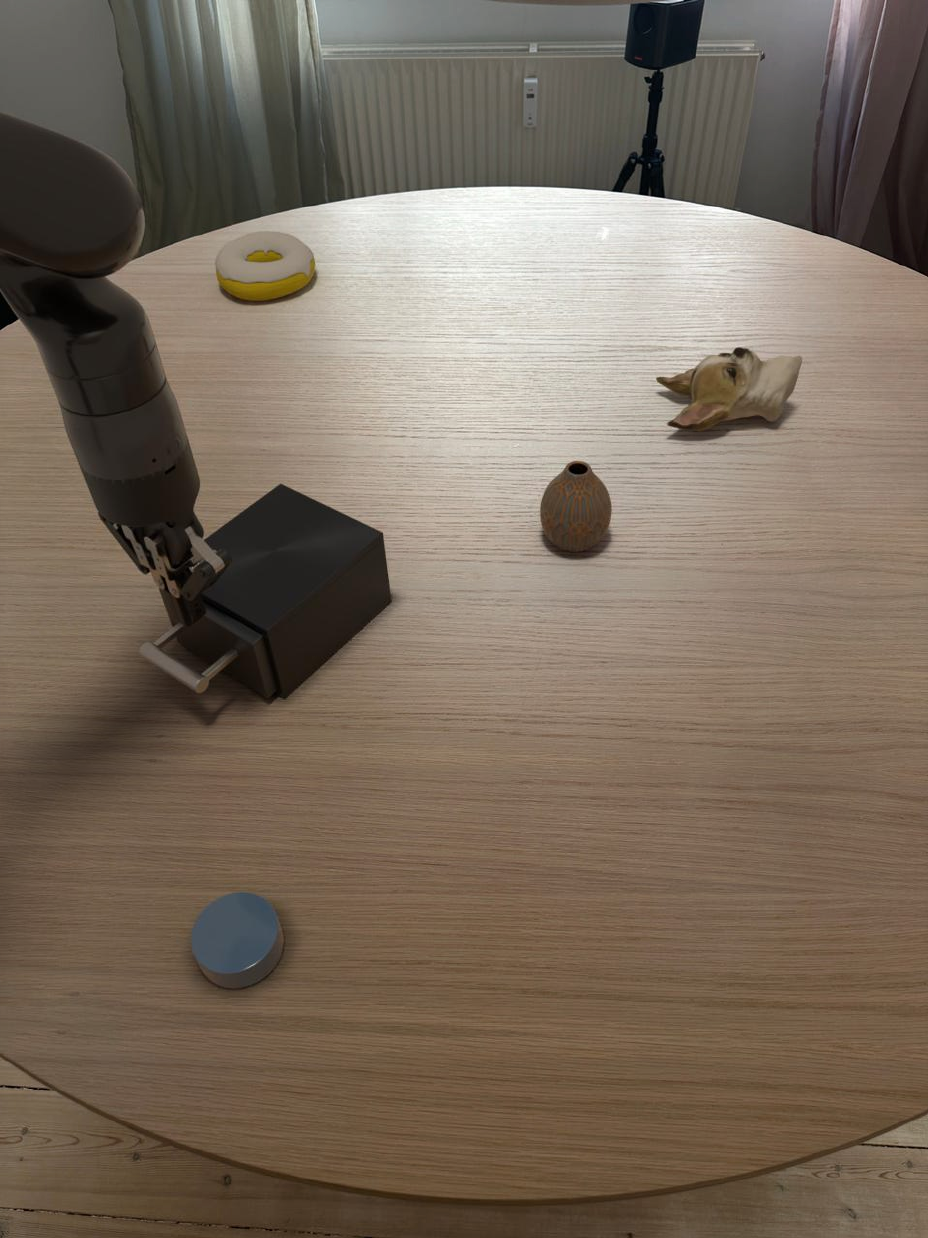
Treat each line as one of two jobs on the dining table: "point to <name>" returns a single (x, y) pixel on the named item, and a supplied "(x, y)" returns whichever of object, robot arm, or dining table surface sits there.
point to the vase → (575, 508)
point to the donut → (264, 265)
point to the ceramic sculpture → (733, 388)
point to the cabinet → (299, 579)
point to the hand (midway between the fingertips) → (191, 617)
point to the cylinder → (237, 940)
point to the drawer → (214, 651)
